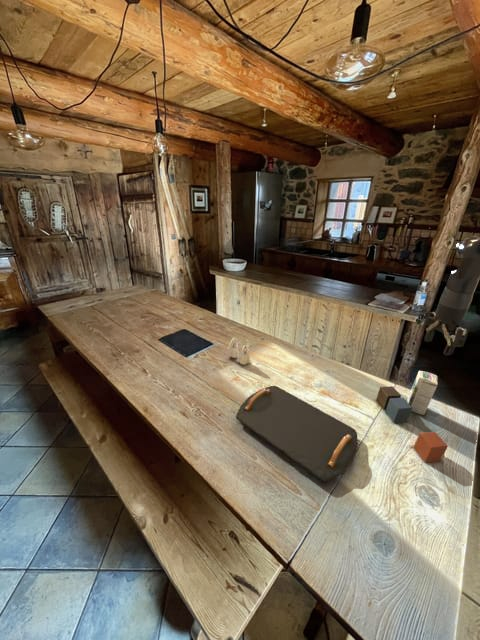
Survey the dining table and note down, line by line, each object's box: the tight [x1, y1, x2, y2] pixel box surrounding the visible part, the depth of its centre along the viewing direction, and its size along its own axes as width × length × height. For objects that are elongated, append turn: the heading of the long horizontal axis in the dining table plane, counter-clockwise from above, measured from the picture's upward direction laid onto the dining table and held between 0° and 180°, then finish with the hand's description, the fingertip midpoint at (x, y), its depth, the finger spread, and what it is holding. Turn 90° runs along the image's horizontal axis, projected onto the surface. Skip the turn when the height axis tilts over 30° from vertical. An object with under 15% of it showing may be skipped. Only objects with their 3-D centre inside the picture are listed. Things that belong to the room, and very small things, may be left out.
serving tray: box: [235, 385, 359, 483], centre depth 87 cm, size 39×23×6 cm, turn 48°
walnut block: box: [375, 385, 402, 411], centre depth 98 cm, size 5×5×6 cm
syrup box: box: [406, 370, 439, 416], centre depth 95 cm, size 6×6×14 cm
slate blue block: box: [384, 397, 412, 424], centre depth 93 cm, size 5×5×6 cm
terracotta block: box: [413, 431, 449, 463], centre depth 80 cm, size 5×5×6 cm
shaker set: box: [225, 337, 251, 365], centre depth 122 cm, size 12×4×11 cm, turn 52°
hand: (436, 347), depth 90 cm, fingers open, 8 cm apart
